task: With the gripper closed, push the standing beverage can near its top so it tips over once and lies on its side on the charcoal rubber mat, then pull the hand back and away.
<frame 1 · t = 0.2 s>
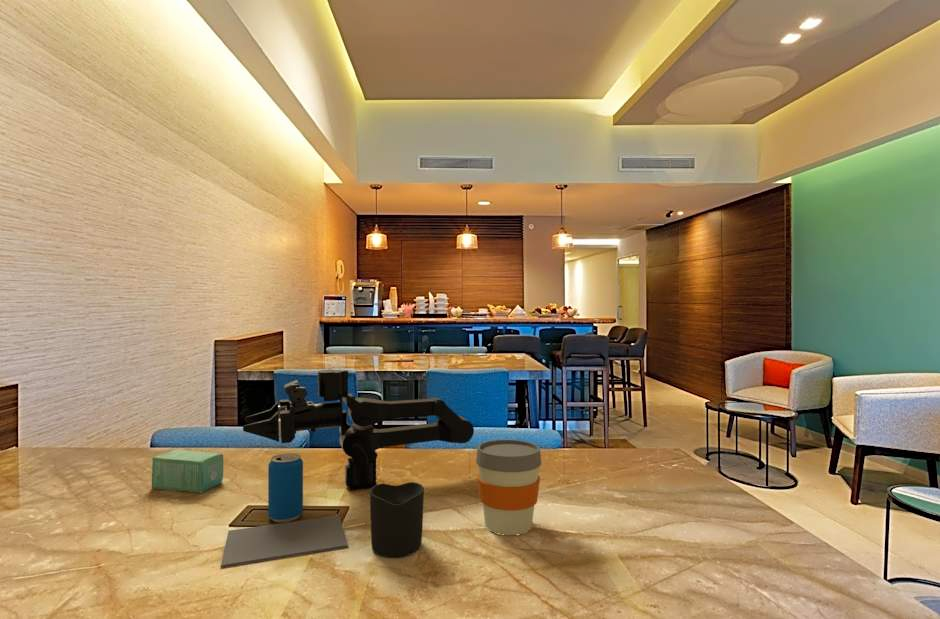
hand: (244, 423, 109), 16 cm above the table, tool horizontal, fingers open, 9 cm apart
box: (188, 487, 118), on the table
pen holder: (396, 547, 88), on the table
reusable coffee cup: (508, 526, 97), on the table
beverage can: (285, 518, 100), on the table
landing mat: (286, 539, 90), on the table
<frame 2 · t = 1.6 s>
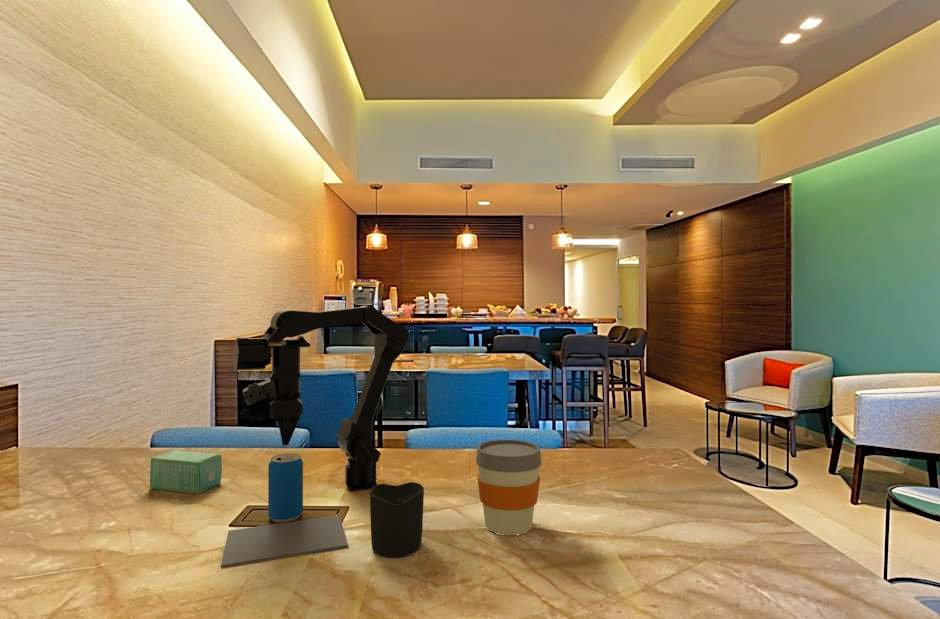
hand: (285, 440, 109), 13 cm above the table, tool pointing down, fingers open, 8 cm apart
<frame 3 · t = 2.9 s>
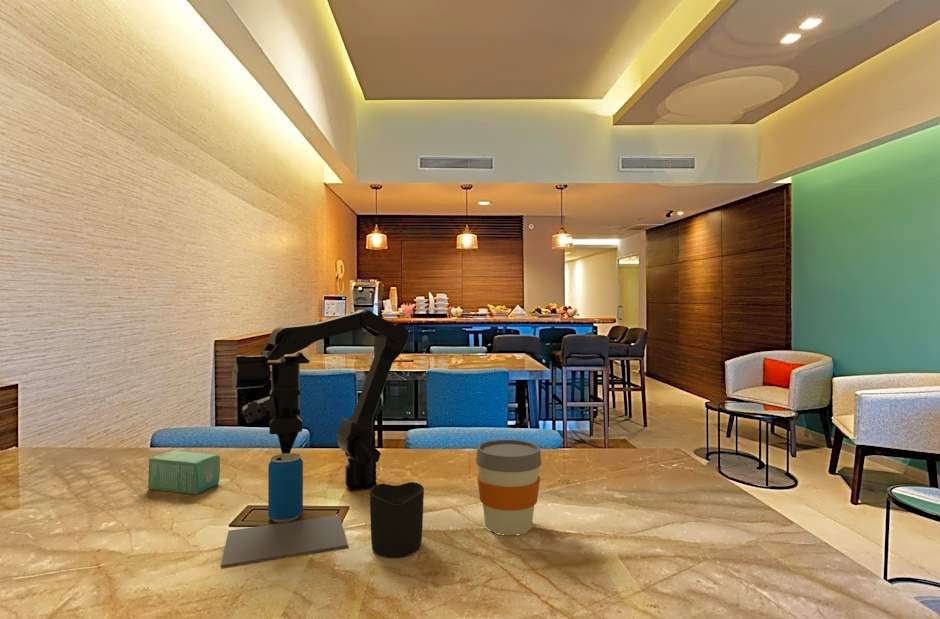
hand: (285, 457, 108), 10 cm above the table, tool pointing down, fingers closed
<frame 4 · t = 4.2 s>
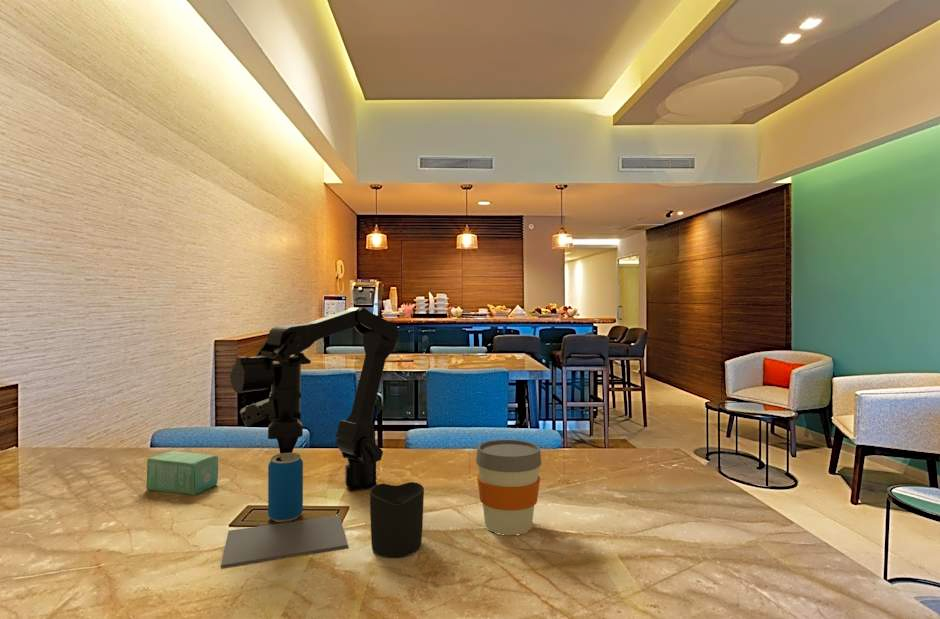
hand: (285, 462, 103), 10 cm above the table, tool pointing down, fingers closed
beverage can: (285, 517, 100), on the table, touching gripper
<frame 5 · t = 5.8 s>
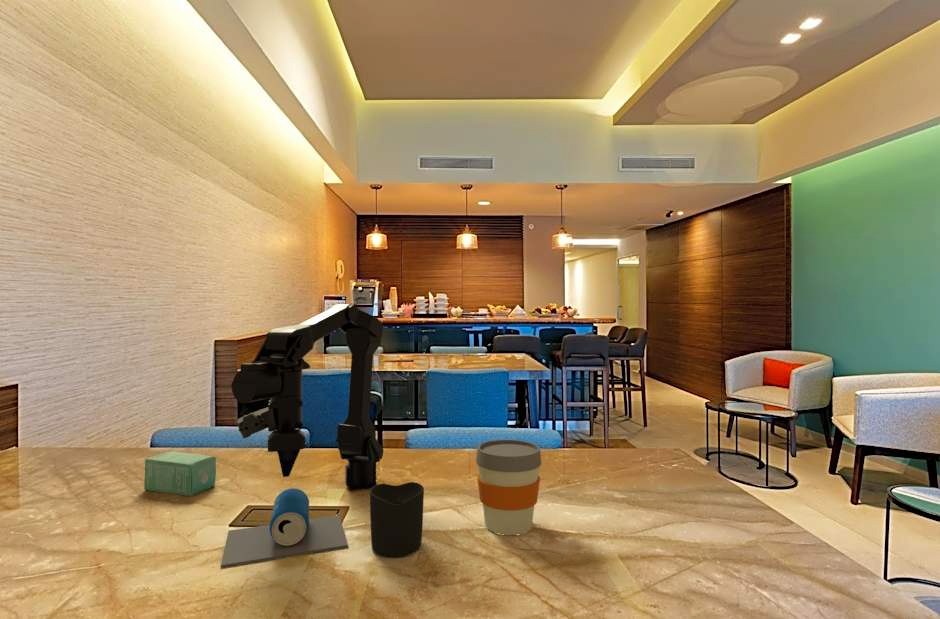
hand: (285, 476, 96), 10 cm above the table, tool pointing down, fingers closed
beverage can: (291, 503, 98), point 4 cm above the table, touching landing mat
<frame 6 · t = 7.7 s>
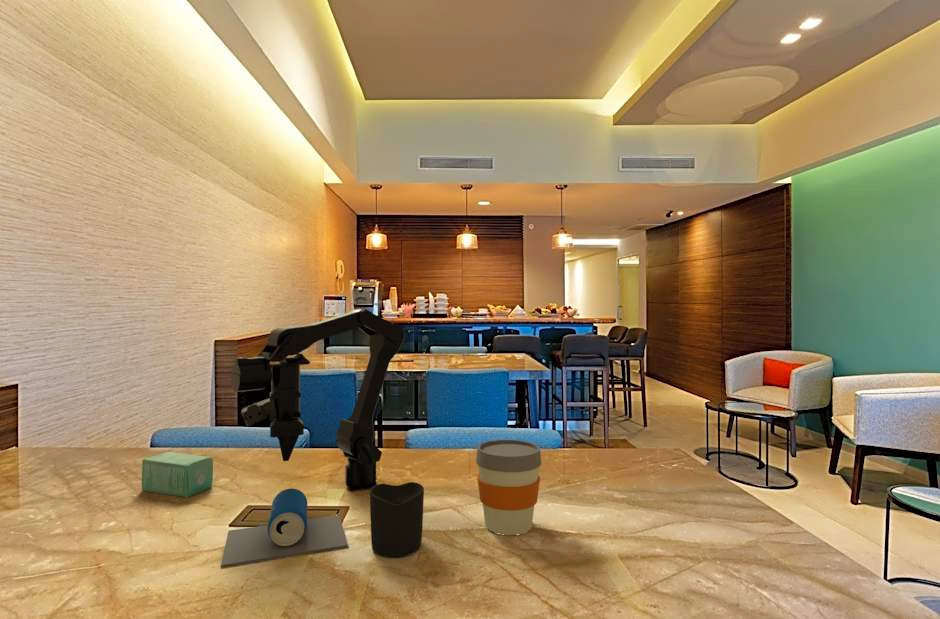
hand: (285, 460, 106), 9 cm above the table, tool pointing down, fingers closed
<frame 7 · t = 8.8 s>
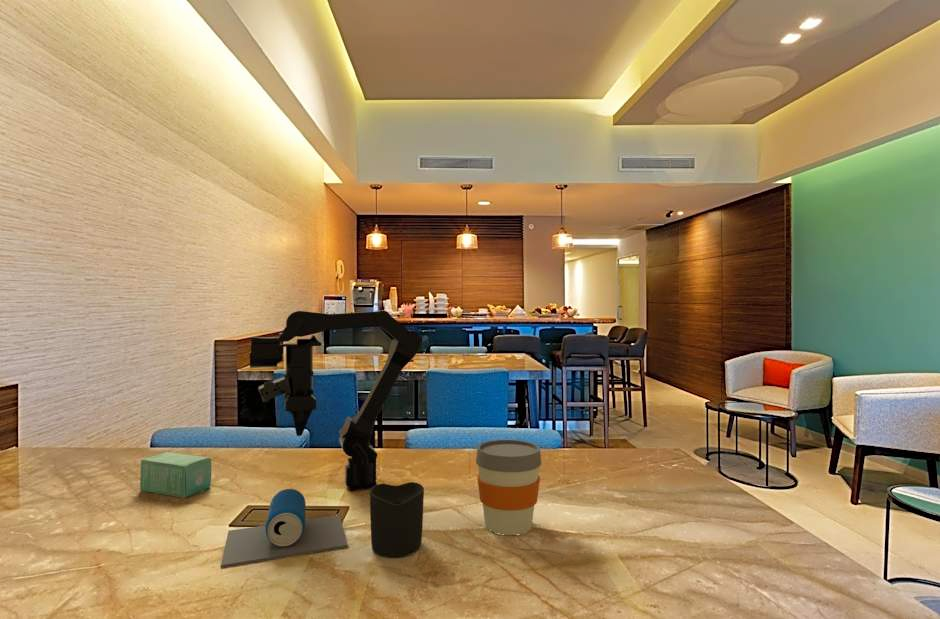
hand: (299, 435, 113), 13 cm above the table, tool pointing down, fingers closed
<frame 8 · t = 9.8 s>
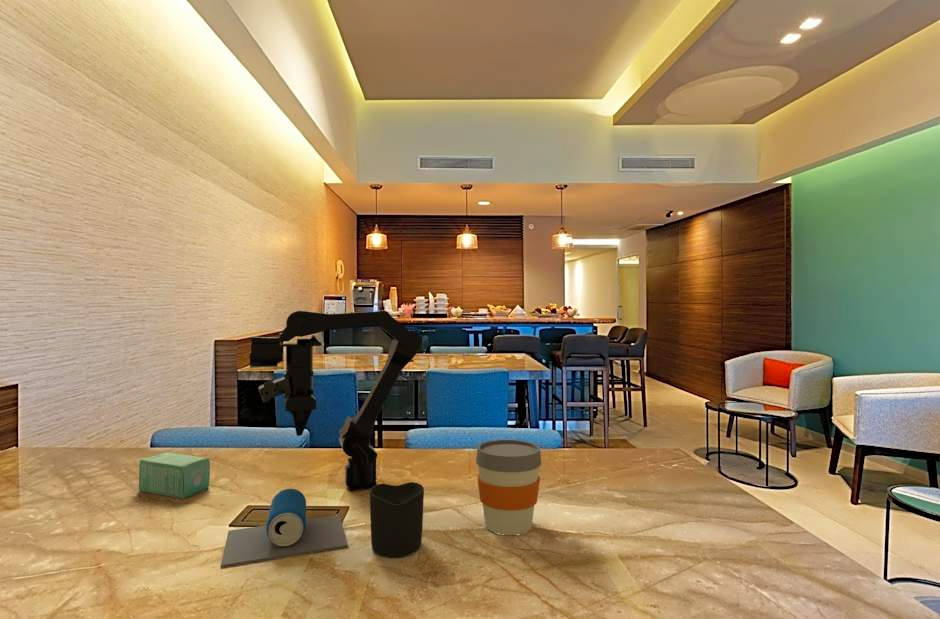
hand: (299, 435, 113), 13 cm above the table, tool pointing down, fingers closed
at the end: beverage can tilted 90°; beverage can touching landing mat; beverage can inside the target area (3.8 cm from its centre), point 3.6 cm above the table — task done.
